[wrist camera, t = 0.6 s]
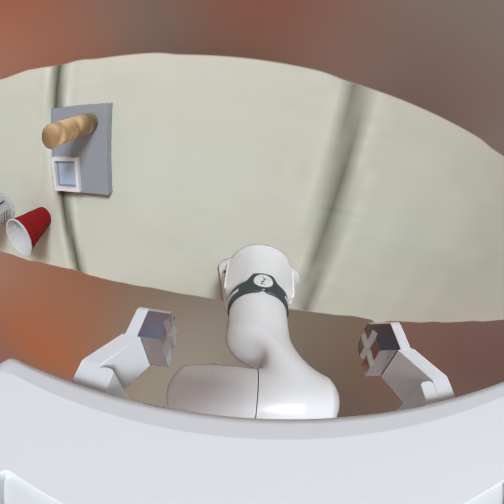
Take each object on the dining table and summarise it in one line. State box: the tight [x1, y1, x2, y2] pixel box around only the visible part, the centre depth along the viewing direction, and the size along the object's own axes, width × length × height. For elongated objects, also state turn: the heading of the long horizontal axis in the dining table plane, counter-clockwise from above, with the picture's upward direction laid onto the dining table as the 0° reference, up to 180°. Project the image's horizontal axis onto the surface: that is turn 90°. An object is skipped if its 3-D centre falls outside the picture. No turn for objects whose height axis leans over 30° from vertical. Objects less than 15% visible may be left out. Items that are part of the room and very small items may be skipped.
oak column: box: [42, 113, 98, 149], centre depth 40 cm, size 4×4×13 cm
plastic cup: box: [6, 207, 51, 256], centre depth 55 cm, size 11×11×12 cm
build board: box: [51, 103, 112, 195], centre depth 49 cm, size 20×16×3 cm
